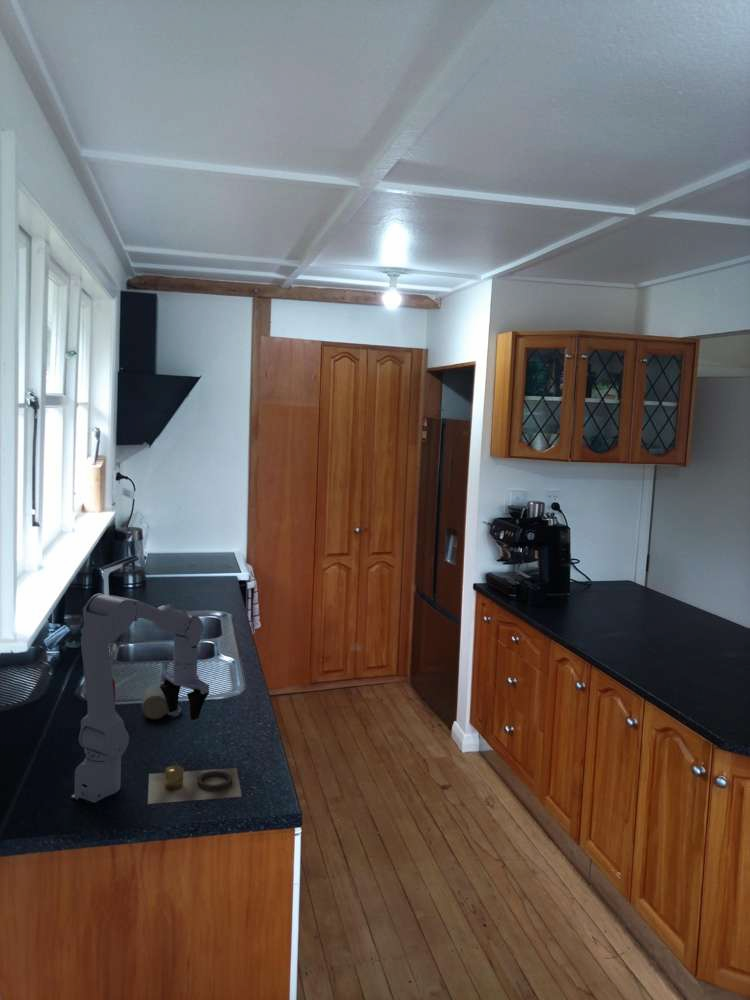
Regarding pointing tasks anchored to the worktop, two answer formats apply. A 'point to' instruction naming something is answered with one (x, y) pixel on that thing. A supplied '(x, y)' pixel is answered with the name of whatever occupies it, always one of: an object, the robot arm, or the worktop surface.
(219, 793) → the jig board
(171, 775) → the brass fitting
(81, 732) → the robot arm
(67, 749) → the worktop surface
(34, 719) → the worktop surface
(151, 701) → the ceramic mug
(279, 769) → the worktop surface
